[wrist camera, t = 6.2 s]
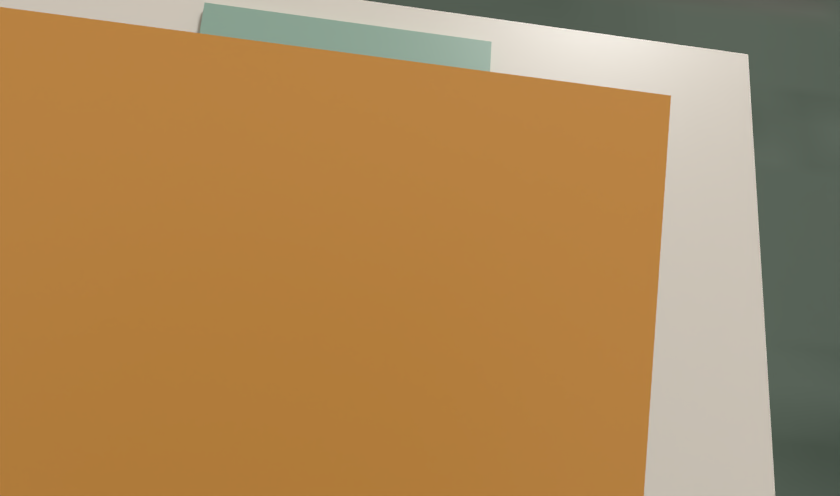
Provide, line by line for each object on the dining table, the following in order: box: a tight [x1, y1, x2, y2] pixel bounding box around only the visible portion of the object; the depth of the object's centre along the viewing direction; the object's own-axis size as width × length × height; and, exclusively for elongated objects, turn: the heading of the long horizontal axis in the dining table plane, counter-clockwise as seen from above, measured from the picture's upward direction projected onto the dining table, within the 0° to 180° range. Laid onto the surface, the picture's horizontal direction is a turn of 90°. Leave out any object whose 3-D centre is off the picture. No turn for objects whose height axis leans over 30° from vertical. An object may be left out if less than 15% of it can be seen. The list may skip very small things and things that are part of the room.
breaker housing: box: [0, 0, 775, 496], centre depth 15 cm, size 14×18×8 cm
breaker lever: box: [0, 7, 671, 496], centre depth 8 cm, size 2×3×10 cm
